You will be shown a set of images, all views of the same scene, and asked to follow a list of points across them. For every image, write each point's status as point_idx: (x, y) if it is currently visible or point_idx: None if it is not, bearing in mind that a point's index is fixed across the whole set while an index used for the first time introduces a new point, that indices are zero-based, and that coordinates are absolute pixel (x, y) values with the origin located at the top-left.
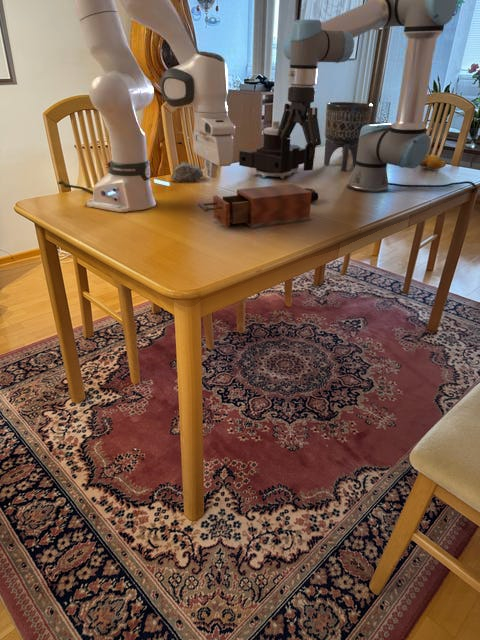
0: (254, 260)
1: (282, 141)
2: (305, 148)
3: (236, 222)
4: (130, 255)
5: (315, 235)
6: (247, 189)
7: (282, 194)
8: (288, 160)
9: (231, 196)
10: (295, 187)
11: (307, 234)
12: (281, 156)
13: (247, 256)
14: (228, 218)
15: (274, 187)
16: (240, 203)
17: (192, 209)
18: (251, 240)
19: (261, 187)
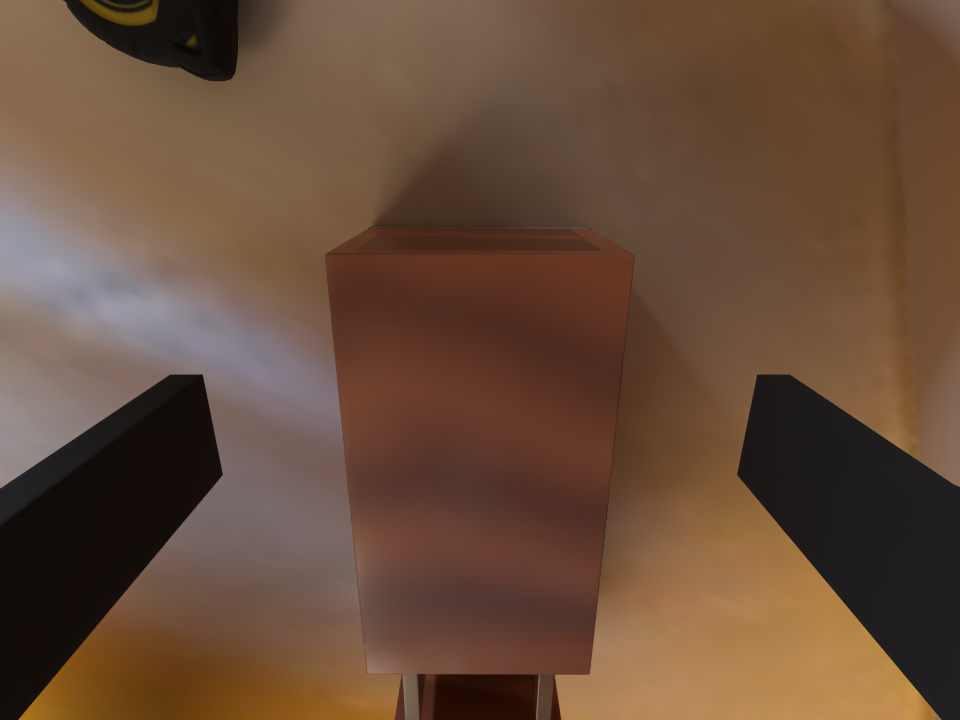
0: (872, 668)
1: (25, 707)
2: (937, 708)
3: None
4: None
5: (812, 340)
6: (385, 625)
7: (592, 494)
8: (198, 384)
9: (418, 690)
10: (447, 305)
11: (777, 368)
12: (183, 513)
13: (828, 672)
14: (554, 681)
15: (392, 456)
16: (552, 690)
17: (217, 663)
18: (701, 606)
19: (363, 534)
